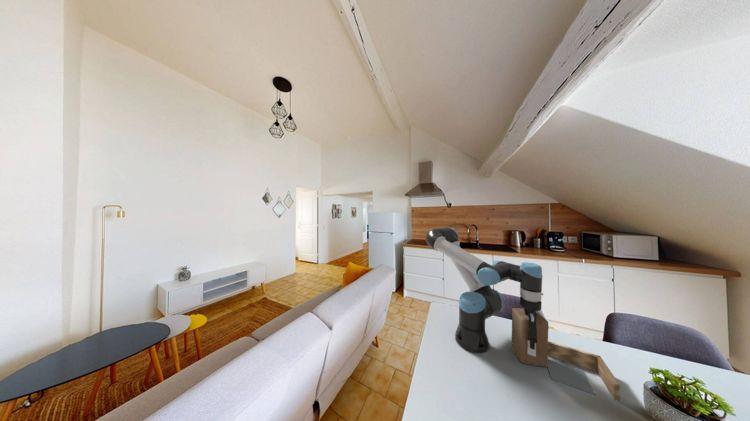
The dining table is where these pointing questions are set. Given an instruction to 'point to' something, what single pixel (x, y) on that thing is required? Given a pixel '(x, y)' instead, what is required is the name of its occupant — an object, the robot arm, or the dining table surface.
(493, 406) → the dining table surface
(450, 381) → the dining table surface
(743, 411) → the dining table surface
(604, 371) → the wooden angle piece
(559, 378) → the mat
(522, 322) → the wooden block
